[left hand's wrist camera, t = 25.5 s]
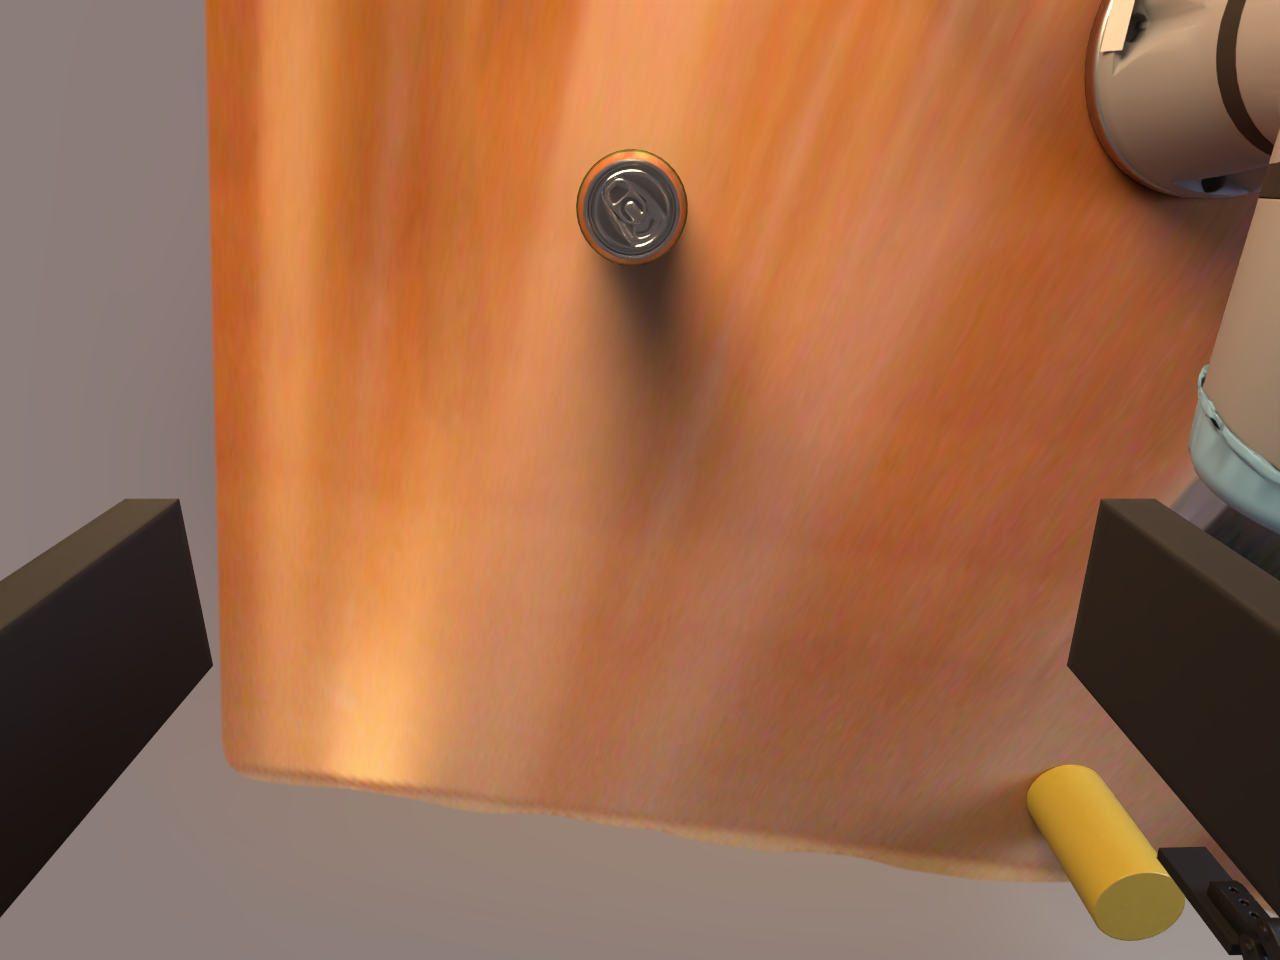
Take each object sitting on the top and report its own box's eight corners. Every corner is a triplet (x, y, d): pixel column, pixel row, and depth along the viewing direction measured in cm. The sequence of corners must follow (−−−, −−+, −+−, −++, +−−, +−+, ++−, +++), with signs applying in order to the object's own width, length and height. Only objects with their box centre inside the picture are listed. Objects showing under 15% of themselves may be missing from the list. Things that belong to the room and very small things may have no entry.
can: (1043, 837, 66) (1112, 953, 56) (1013, 785, 64) (1080, 895, 54) (1115, 806, 65) (1198, 919, 55) (1087, 752, 63) (1168, 858, 53)
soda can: (629, 262, 50) (626, 292, 39) (571, 194, 49) (551, 204, 38) (695, 203, 49) (712, 215, 38) (637, 131, 48) (636, 123, 37)
